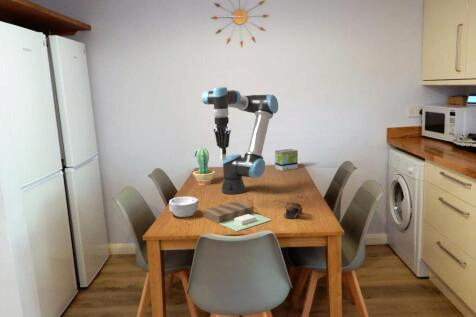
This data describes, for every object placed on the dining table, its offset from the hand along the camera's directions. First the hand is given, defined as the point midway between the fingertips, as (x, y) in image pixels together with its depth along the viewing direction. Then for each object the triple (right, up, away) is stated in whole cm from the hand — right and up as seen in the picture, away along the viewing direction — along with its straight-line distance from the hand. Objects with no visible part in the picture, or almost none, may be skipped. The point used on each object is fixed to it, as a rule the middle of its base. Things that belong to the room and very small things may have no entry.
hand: (223, 159), depth 217 cm
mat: (+12, -31, -22) cm, 39 cm away
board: (+3, -29, -11) cm, 31 cm away
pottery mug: (+36, -29, -16) cm, 49 cm away
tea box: (+46, -8, +94) cm, 105 cm away
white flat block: (+11, -28, -22) cm, 38 cm away
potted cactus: (-15, -17, +58) cm, 63 cm away
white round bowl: (-20, -29, -6) cm, 36 cm away
